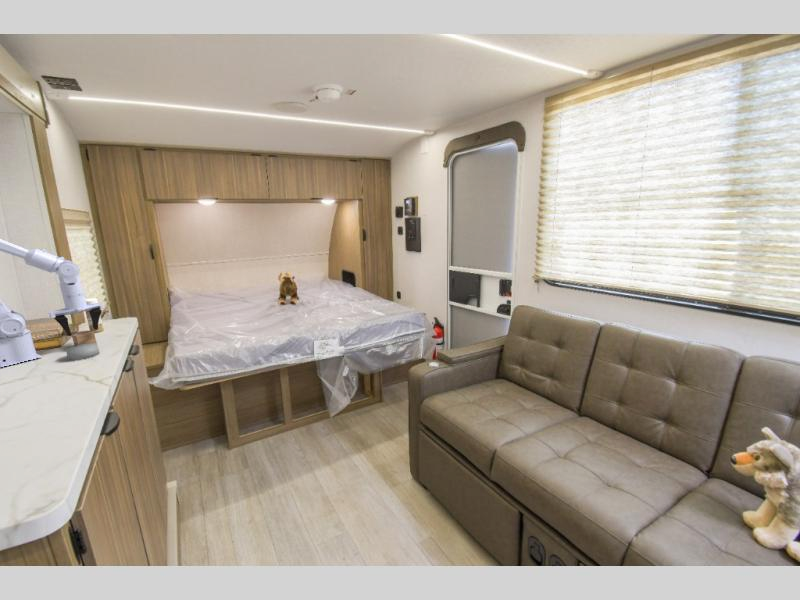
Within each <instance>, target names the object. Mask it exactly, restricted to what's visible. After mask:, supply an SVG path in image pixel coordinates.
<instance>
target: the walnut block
mask: <svg viewBox="0 0 800 600" xmlns="http://www.w3.org/2000/svg"><path fill="white" fill-rule="evenodd" d="M95 334H96V333H94V332H92V331H90V330H85V331H80V332H76V333H71V337H72V341H73V347H74V346H77V345H82V344H89V343H95V344H97V345H98V343H97V339H96V335H95Z"/></svg>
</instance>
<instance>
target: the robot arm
mask: <svg viewBox="0 0 800 600" xmlns="http://www.w3.org/2000/svg"><path fill="white" fill-rule="evenodd" d="M0 252H4V253H6V254H9V255H12V256H15V257H19V258H21V259H23V261H24V262H25V264H26V265H28V266H31V267H34V268H36V269H38V270H39V269H40V270H42V271H45V272H47V273H51V274H52V273H55V274H56V275H57V276H58V280H59V284H58V285H59V288H60V292H61V295H62V300H63V303H64V307H65V308H61V309H56V310H52V311H48V317H49V318H50V319H54V320H55V321H56V322H57V323H58V324H59V325H60V326H61V328H62V329H63V331H65V334H66V336H68V337H72V331H71V329H70V325H69V319H68V317H67V315H73V314H78V313H82V312H83V313H85V312H86V311H89V313H90V316H91V319H92V324H93V328H94V329H95V330H97V329H98V322H99V318H100V315H101V316H102V312H103V310H102V309H104V308H105V307H104V304H103V302H98V303H94V304H87V303H86V299H87V298H86V295H85V292H84V288H83V284H82V280H81V278H80V275H79V274H80V271H81V270H80V268H79V266H78V265H77V264H76V263H74V262H73V261H71V260H69V259H65V257H64V256H60V257H59V256H57V255H54V254H53V253H50V252H48V251H47V250H46V249H44V248H41V249H39V248H32V249H27V248H25V247H22V246H19V245H17V244H15V243H11V242H9V241H6V240H4V239H2V238H0ZM36 358H39V359H41V358H42V356H41V355H40V354H38V353H37V351H36V347H35V343H34V340H33V337H32V332H31V330H30V329H28V328H27V324H26V318H25V316H24V315H23V314H22V313H20V312H17V311H15V310H13V309H12V308H11V307H10V306H9V305H7V304H6V303H5V302H4V301H3V300H2V299H1V298H0V368H1V367H3V368H5V367H4V366H7V367H10V366H9V365H11V366H14V365H13V364H15V365H18V364H17V363H19V364H21V363H20V362H23V363H25V362H24V361H27V362H29V361H28V360H31V361H34V360H33V359H35V360H37V359H36Z"/></svg>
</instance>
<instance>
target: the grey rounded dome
mask: <svg viewBox="0 0 800 600" xmlns="http://www.w3.org/2000/svg"><path fill="white" fill-rule="evenodd" d="M65 352H66V355H67V356H66V357H67V360H68V359H69V360H68V361H70V360H77V361H82V360H81V359H84V360H87V358H88V359H90V357H91V358H93V357H97V356H98V355H99V354H100V349H99V346H98V343H97V344H95V343H89V344H82V345H77V346H74V345H73V346H71V347H69V348H67V349H66V351H65Z"/></svg>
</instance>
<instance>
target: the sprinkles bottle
mask: <svg viewBox="0 0 800 600" xmlns="http://www.w3.org/2000/svg"><path fill="white" fill-rule="evenodd" d="M85 299H86V303H87V304H94V303H99V302H98V299H97V298H95V297H93V298H85ZM85 316H86V319H87V320H86V321H87V325H88V329H89V331H92V332H94V334H96V332H97V333H100V331H101V332H103V331H104V326H103V320H102V314H101V315H100V318H99V322H98V329H97V330H95V329H94V328H93V324H92V319H91V316H90V313H89V311H85Z"/></svg>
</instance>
